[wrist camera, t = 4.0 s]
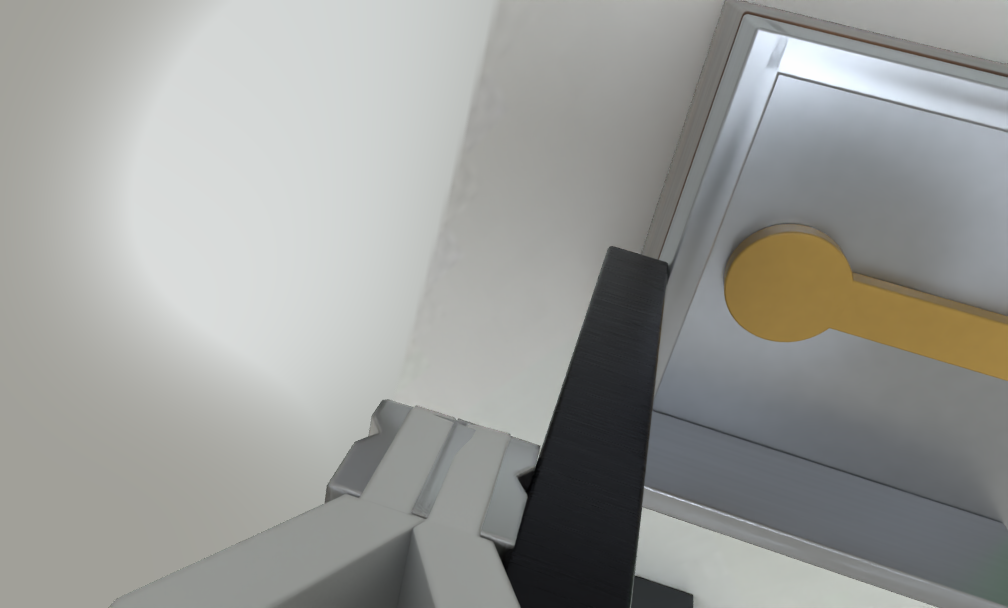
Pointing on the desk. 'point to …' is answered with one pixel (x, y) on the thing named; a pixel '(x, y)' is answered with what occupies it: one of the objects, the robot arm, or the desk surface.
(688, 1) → the desk surface
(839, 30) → the stand
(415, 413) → the robot arm
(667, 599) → the grey button base
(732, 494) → the grey dustpan
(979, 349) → the tan wooden spoon shape
